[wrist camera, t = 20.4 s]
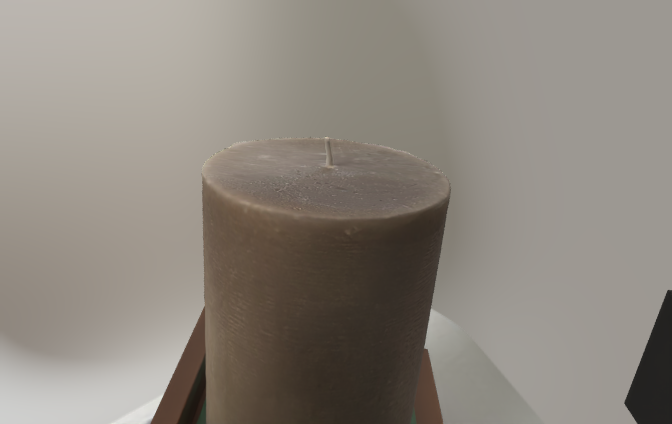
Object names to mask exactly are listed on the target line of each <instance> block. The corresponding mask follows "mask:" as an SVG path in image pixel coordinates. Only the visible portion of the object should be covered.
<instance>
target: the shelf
mask: <svg viewBox="0 0 672 424" xmlns="http://www.w3.org/2000/svg"><path fill="white" fill-rule="evenodd" d="M206 405H207V404H206V347H205V306H204V309H203V311H202V313H201V315H200V317H199V319H198V322H197V324H196V326H195V328H194V330H193V333H192V335H191V337H190V339H189V341H188V343H187V346H186V348H185V350H184V352H183V354H182V357H181V359H180V361H179V363H178V365H177V368H176V370H175V372H174V374H173V376H172V378H171V380H170V383H169V385H168V387H167V389H166V391H165V393H164V396H163V398H162V400H161V402H160V404H159V407H158V409H157V411H156V413H155V415H154V417H153V420H152V422H151V424H206ZM411 424H443V419H442V415H441V410H440V405H439V400H438V396H437V391H436V386H435V381H434V377H433V372H432V367H431V362H430V358H429V353H428V349H424V352H423V357H422V363H421V369H420V374H419V380H418V385H417V392H416V397H415V403H414V408H413V414H412V418H411Z"/></svg>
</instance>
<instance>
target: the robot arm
mask: <svg viewBox="0 0 672 424" xmlns="http://www.w3.org/2000/svg"><path fill="white" fill-rule="evenodd" d="M625 405H626V407H627V408H628V410H629V411H630V413H631V414H632V416H633V417H634V419H635V420H636V422H637V424H672V290H668V291H667V293H666V296H665V299H664V302H663V304H662V307H661V309H660V312H659V314H658V317H657V319H656V322H655V325H654V327H653V330H652V333H651V335H650V338H649V340H648V343H647V345H646V348H645V351H644V353H643V356H642V358H641V361H640V364H639V366H638V369H637V371H636V374H635V377H634V379H633V382H632V384H631V387H630V390H629V393H628V395H627V397H626V400H625Z"/></svg>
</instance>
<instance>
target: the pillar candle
mask: <svg viewBox="0 0 672 424" xmlns="http://www.w3.org/2000/svg"><path fill="white" fill-rule="evenodd" d="M202 184H203V190H202V196H203V197H202V201H203V240H204V298H205V347H206V404H207V405H206V424H411V418H412V414H413V408H414V403H415V397H416V392H417V385H418V380H419V374H420V369H421V363H422V357H423V352H424V346H425V339H426V334H427V328H428V322H429V316H430V310H431V305H432V298H433V293H434V287H435V281H436V275H437V269H438V264H439V258H440V253H441V245H442V239H443V234H444V227H445V221H446V214H447V209H448V204H449V199H450V191H451V189H450V188H451V187H450V182H449V179H448V178H447V177H446V176H445V175H444V174H443V173H442V171H441V170H439V169H438V168H437V167H435V166H433V165H432V164H430V163H429V162H427V161H426V160H423V159H420V158H418V157H416V156H413V155H411V154H409V153H408V152H405V151H399V150H394V149H392V148H389V147H386V146H380V145H375V144H369V143H368V144H364V143H359V142H352V141H347V140H336V139H330V138H329V137H326V136H325V137H324V138H311V137H310V138H279V139H268V140H256V141H245V142H238V143H235V144H233V145H231V147H230V148H225V149H224V150H222V151H219V152H217V153H216V154H214V155H213V156H211V157H210V158H209V159H208V160H207V161H206V162H205V164H204V166H203V168H202Z"/></svg>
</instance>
